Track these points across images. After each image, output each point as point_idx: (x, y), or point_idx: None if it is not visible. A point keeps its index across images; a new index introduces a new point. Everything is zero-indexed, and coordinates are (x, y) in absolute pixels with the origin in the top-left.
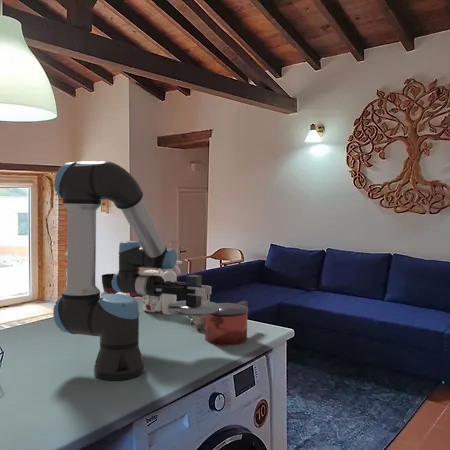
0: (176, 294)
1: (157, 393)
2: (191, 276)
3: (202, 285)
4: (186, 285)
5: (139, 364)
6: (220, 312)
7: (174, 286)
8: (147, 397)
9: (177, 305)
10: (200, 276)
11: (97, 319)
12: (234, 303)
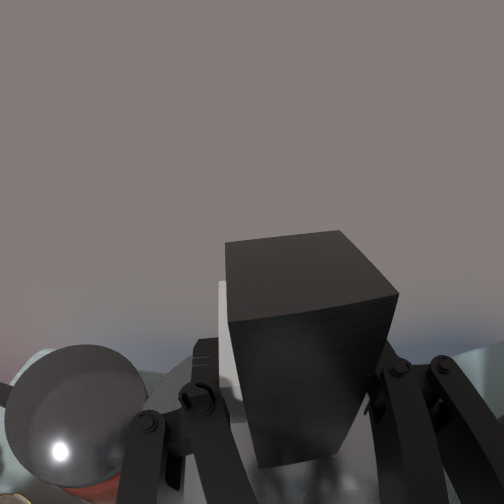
0: (445, 415)
1: (482, 356)
2: (361, 255)
3: (223, 325)
4: (371, 374)
5: (499, 419)
6: (140, 403)
7: (441, 474)
8: (495, 353)
9: (367, 491)
10: (255, 245)
11: None
12: (12, 392)
